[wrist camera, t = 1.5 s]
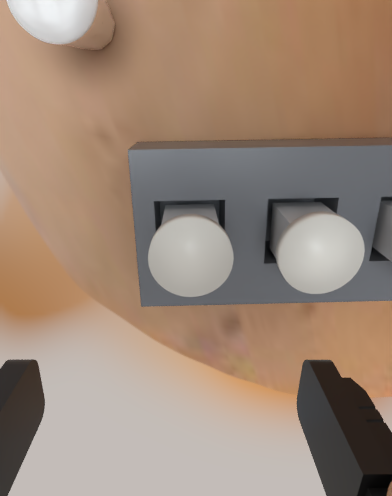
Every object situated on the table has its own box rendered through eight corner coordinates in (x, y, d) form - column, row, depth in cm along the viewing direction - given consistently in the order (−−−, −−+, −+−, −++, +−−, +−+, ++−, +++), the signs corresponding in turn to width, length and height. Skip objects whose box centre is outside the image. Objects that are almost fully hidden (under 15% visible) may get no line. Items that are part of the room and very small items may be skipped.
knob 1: (224, 193, 26) (234, 218, 20) (223, 257, 28) (232, 296, 22) (154, 194, 26) (145, 219, 20) (158, 259, 28) (150, 297, 22)
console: (438, 136, 28) (487, 143, 24) (406, 271, 33) (442, 299, 28) (137, 141, 28) (127, 149, 23) (147, 277, 32) (141, 306, 28)
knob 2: (332, 191, 26) (371, 215, 21) (323, 255, 28) (357, 292, 23) (262, 192, 26) (282, 217, 20) (258, 256, 28) (276, 294, 22)
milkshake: (42, -16, 24) (-50, -91, 15) (122, -14, 24) (81, -87, 15) (52, 60, 26) (-25, 36, 16) (126, 61, 26) (92, 38, 16)
